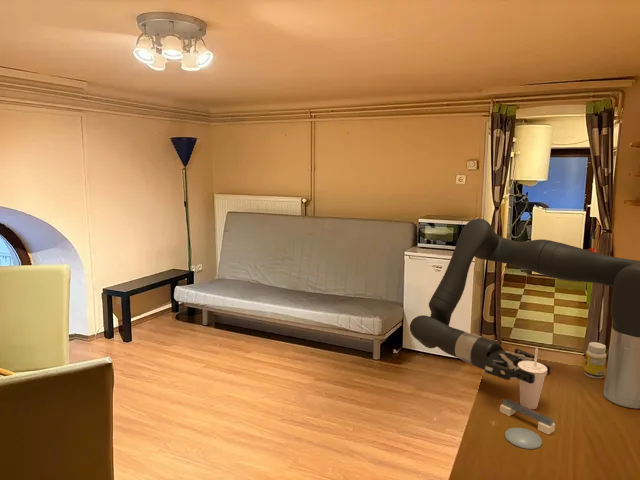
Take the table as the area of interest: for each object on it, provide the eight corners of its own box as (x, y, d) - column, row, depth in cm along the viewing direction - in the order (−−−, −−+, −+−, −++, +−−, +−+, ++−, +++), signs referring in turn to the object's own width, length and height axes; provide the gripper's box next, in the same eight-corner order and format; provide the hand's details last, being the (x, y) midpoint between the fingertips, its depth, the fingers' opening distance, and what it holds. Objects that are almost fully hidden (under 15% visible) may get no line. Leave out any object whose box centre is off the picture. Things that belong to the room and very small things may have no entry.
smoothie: (546, 413, 111) (552, 355, 108) (516, 410, 112) (521, 353, 110) (540, 399, 117) (545, 344, 115) (511, 396, 119) (516, 342, 116)
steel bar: (502, 404, 112) (502, 399, 112) (505, 403, 112) (505, 398, 112) (549, 426, 103) (550, 421, 103) (552, 424, 104) (553, 419, 104)
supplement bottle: (585, 369, 134) (588, 340, 132) (604, 374, 131) (608, 344, 130) (582, 375, 130) (585, 345, 128) (602, 380, 127) (606, 350, 126)
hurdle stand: (499, 411, 112) (500, 405, 112) (505, 408, 113) (506, 401, 113) (548, 434, 103) (549, 427, 103) (554, 430, 104) (555, 423, 104)
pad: (510, 425, 106) (510, 423, 106) (545, 436, 102) (545, 435, 102) (500, 440, 101) (501, 439, 101) (537, 453, 97) (537, 451, 97)
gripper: (461, 343, 119) (526, 368, 106) (495, 330, 128) (559, 351, 115) (459, 372, 121) (523, 400, 108) (493, 357, 129) (556, 381, 116)
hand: (541, 375), depth 111 cm, fingers closed on smoothie, 6 cm apart
